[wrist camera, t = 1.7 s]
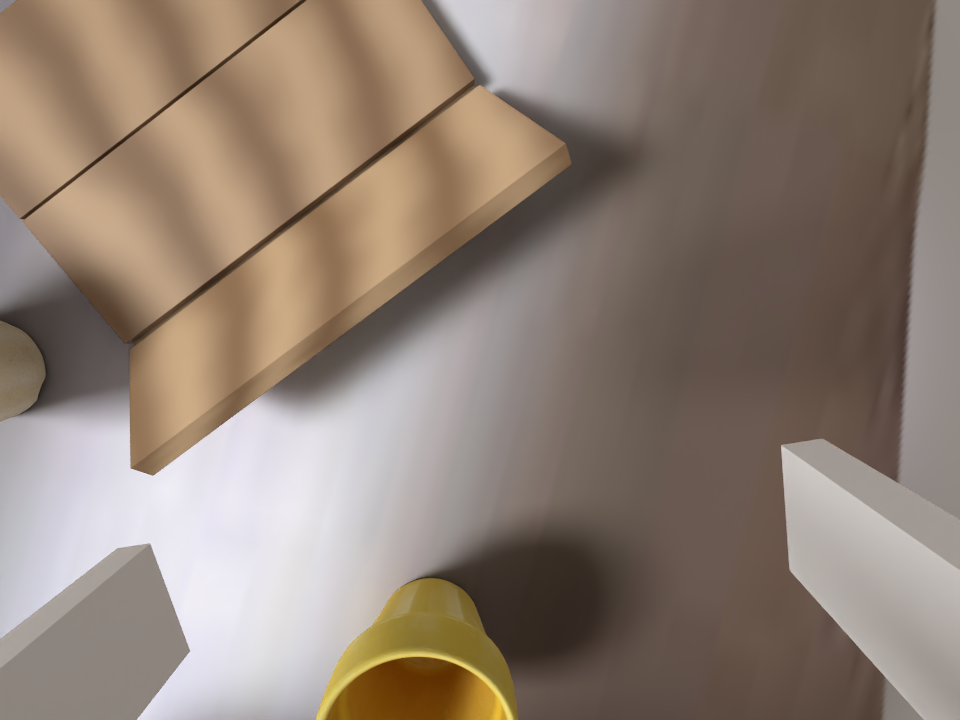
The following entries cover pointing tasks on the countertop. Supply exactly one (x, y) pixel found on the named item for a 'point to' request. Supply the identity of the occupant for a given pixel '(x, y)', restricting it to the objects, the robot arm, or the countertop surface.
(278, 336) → the board
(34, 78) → the laid floor
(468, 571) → the countertop surface
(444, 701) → the plant pot
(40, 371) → the flower pot
